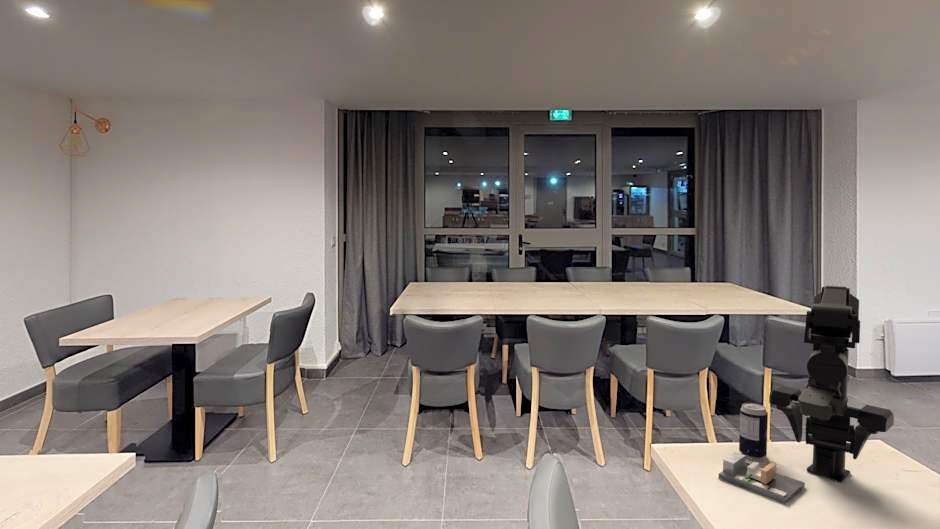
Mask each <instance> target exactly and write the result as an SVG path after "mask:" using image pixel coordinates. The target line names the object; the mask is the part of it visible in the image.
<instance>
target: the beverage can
mask: <svg viewBox="0 0 940 529" xmlns="http://www.w3.org/2000/svg"><path fill="white" fill-rule="evenodd" d="M768 415H769V413H768V411H767V407H766V406H764V405H762V404H758V403H755V402H754V403H753V402H744V403H742V404H741V408H740V409H739V432H738V433H739V435H738V436H739V440H738V441H739V442H738V445H739V446H738V451H740V452H741V453H740V454H743V455H746V458H747V457H749V458H748V459H750V458H752V459H751V460H757V459H758V460H763V458H765V457H766V456H767V455H768V454H767V452H768V451H767V449H768V419H769V418H768V417H769V416H768Z"/></svg>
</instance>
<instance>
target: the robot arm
mask: <svg viewBox="0 0 940 529" xmlns="http://www.w3.org/2000/svg"><path fill="white" fill-rule="evenodd" d="M859 315H860V299H859V298H857V297H856V296H854V295H853V294H852V293H851V288H850V287H846V286H838V285H836V286H835V285H825V286H821V292H819V293H818V294H817V295H815V296H814V297H813V304H812V306H811V307H810V310H806V317H805V328H804V337H803V338H804V340H803V343H804V344H811V353H810V355H809V358H808V361H807V364H806V369H807V373H808V375H809V376H808V379H807V385H806V387H805V388H804V390H803V391H801V389H799V388H793V387H789V386H786V385H785V386H784V385H781V386H779V387H777V388H775V389H773V390H771V391H770V393H769V397H768V400H769V401H768V403H769V404H770V405H771V406H772V405H773V406H776V407H775V408H776V410H778V411H781V412H782V413H783V414H784V415H785V416H786V418H787V420H788V422H789V424H790V428H791V430H792V433H793V435H794V438H795V441H796V442H797V443H801V442H802V438H803V417H806V419H805V444H806V445H810V446H811V445H812V446H813V447H812V450H813V451H812V463H811V464H810V465H809V466H807V467H806V471H807V472H809V473H811V474H815V475H818V476H820V477H823V478H827V479H830V480H832V481H835V482H838V483H839V482H840V483H842V482H844V481H845V480H846V479H847V478H848V477H849V475H850V474H851V470H849V469H846V453H848V454H851V455H852V458H853V460H857V459H858V457H859V456H860V453H861V451H862V450H863V448H864V447H865V444H866V443H867V441H868V439H869V437H870V436H872V435H877V434H878V433H886V432H888V431H889V430H890V429H891V428H892V427H893V426H894V421H895V417H894V416H895V415H894V413H893V412H892V411H891V409H888V408H883V407H879V406H875V405H870V404H865V405H864V406H863V407H861V408H859V407H853V406H849V405H848V402H849V397H848V383H849V381H850V380H849V379H850V376H849V375H848V374H849V373H848V372H849V351H850V350H849V349H856V344H860V338H861V337H860V336H861V321H860V319H859V318H860V316H859ZM850 339H851V341H850ZM848 348H849V349H848ZM851 418H852V419H855V420H856V421H857V423H858V425H856V426H855V425H853V424H851Z"/></svg>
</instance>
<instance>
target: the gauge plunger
mask: <svg viewBox="0 0 940 529" xmlns="http://www.w3.org/2000/svg"><path fill="white" fill-rule="evenodd" d="M749 464H750V465H749V466H747V477H746V479H749V478H750V477H751V478H753V479H756V480H759V481H761V483H764V484H767V483H768V482H770V481H771V480H772V479H773V478H775V477H776V473H777V464H776V463H774V462H769V464H767V465H765V466H764V467H761V468H760V463H759V462H756V461H753V462H752V463H749Z"/></svg>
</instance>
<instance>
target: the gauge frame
mask: <svg viewBox="0 0 940 529" xmlns="http://www.w3.org/2000/svg"><path fill="white" fill-rule="evenodd" d="M722 461H723V462H722V470H721V471H720V472H719V473H718V479H720V480H721V481H722V480H723V481H725V482H727V483H730V484H733V485H735V486H738V487H740V488H743V489H746V490H748V491H750V492H753V493H756V494H759V495H762V496H763V497H766V498H769V499H771V500H774V501H776V502H779V503H781V504H784V505H786V504H788V503H789V502H790V501H791V500H792V499H794V497H796V496H797V495H798V494H799V493H800V492H801V491H802V490H803V489H805V485H806V483H805V482H804V481H801V480H797V479H795V478H792V477H789V476H786V475H784V474H781V473H777V472H776V477H775V478H773V479H772V480H771V481H770V482H768V483H767V484H764V483H761V481H759V480H756V479H753V478H751V477H750V478H749V479H746V477H747V466H749V465H750V464H751V463H750V462H747V457H746V455H743V454H742V453H739V452H737V451H735V452H734V453H732V454H730V455H728V456H726V457H725V458H724V459H722ZM759 467H760V466H759ZM760 468H762V467H760Z"/></svg>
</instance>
